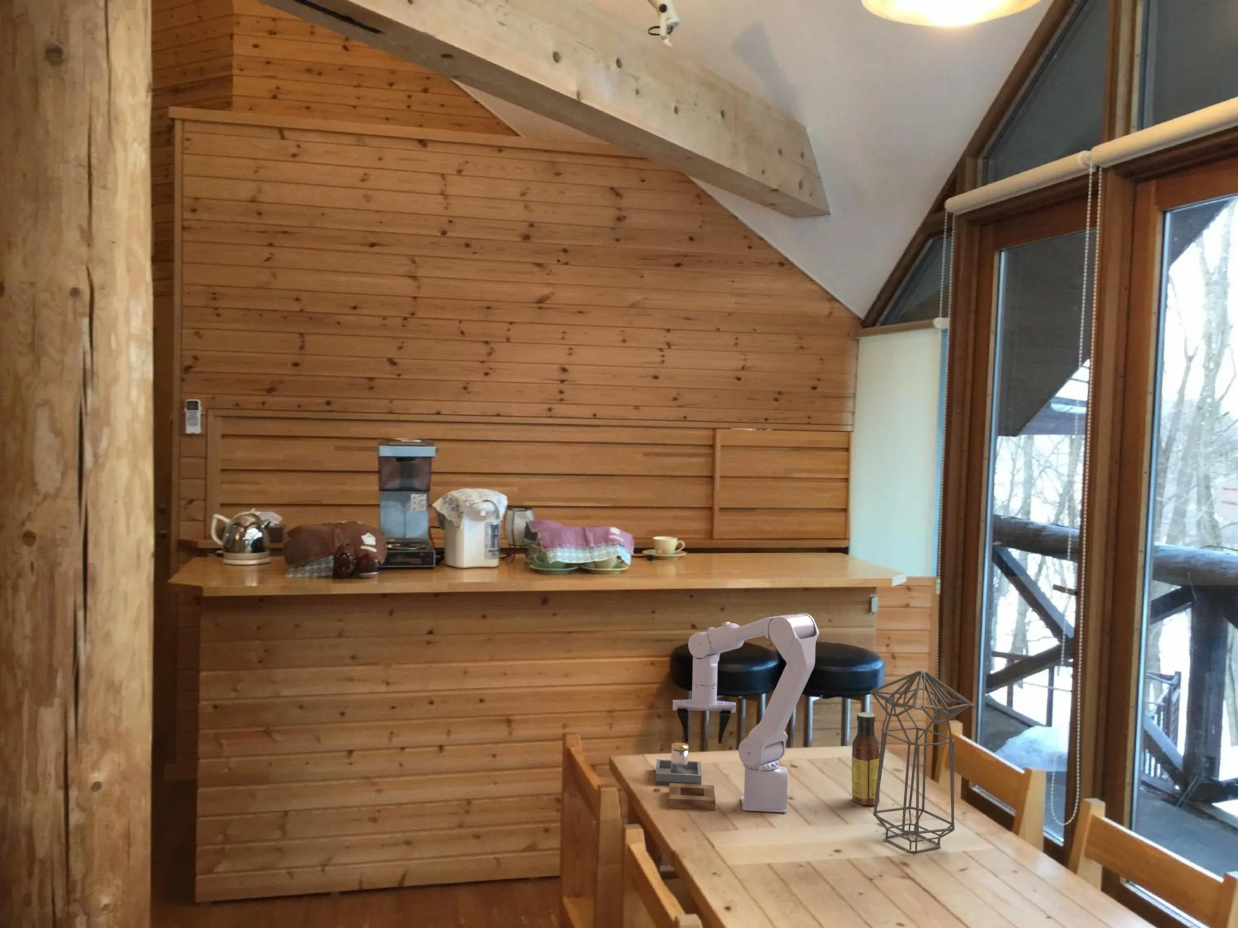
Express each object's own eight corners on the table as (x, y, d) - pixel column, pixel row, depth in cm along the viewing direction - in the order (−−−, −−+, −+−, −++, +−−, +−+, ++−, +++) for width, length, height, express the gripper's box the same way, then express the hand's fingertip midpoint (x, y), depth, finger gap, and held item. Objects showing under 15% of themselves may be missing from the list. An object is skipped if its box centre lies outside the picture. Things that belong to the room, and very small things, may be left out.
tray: (700, 771, 245) (700, 761, 245) (701, 786, 235) (701, 775, 235) (656, 769, 246) (656, 759, 246) (655, 783, 235) (655, 773, 235)
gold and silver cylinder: (686, 771, 242) (688, 742, 242) (687, 777, 238) (689, 747, 238) (670, 770, 242) (671, 741, 242) (670, 776, 238) (671, 746, 238)
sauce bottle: (877, 797, 231) (880, 711, 230) (882, 807, 225) (885, 718, 224) (848, 796, 231) (851, 709, 231) (852, 805, 225) (855, 716, 225)
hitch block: (713, 793, 230) (713, 785, 230) (715, 809, 220) (715, 800, 220) (669, 791, 230) (669, 782, 230) (669, 807, 220) (669, 798, 220)
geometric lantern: (857, 834, 209) (865, 664, 209) (917, 826, 215) (925, 661, 216) (909, 862, 195) (918, 680, 195) (971, 853, 201) (980, 677, 201)
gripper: (735, 680, 239) (733, 737, 239) (673, 678, 239) (671, 735, 240) (736, 687, 232) (735, 746, 232) (673, 684, 232) (671, 743, 233)
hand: (703, 741), depth 235 cm, fingers open, 7 cm apart
